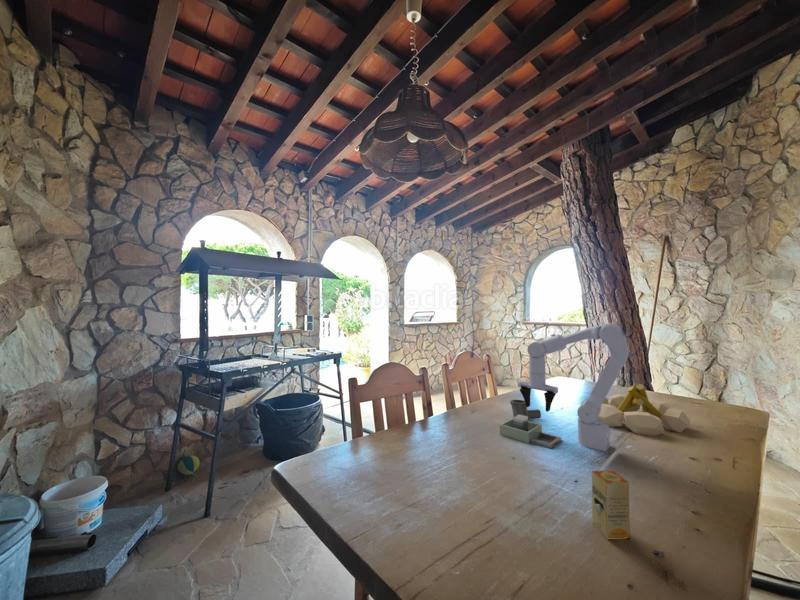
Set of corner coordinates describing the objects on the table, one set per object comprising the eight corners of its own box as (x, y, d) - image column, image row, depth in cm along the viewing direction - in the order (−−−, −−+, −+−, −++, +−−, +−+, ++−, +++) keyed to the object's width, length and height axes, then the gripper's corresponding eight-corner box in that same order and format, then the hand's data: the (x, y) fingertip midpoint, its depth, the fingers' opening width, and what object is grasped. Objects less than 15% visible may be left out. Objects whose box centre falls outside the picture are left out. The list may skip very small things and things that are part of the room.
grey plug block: (528, 434, 125) (528, 416, 125) (523, 439, 121) (522, 419, 121) (518, 432, 127) (518, 414, 127) (513, 436, 124) (513, 417, 124)
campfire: (640, 441, 120) (639, 395, 121) (569, 413, 153) (569, 376, 153) (708, 431, 130) (707, 388, 130) (628, 406, 162) (627, 371, 163)
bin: (541, 436, 124) (541, 424, 125) (528, 445, 117) (528, 432, 117) (513, 429, 132) (513, 417, 133) (499, 436, 125) (499, 424, 125)
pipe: (542, 421, 141) (542, 403, 141) (512, 421, 141) (512, 402, 141) (537, 417, 147) (536, 399, 147) (508, 416, 147) (507, 398, 148)
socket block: (563, 443, 118) (563, 437, 118) (552, 452, 111) (552, 445, 111) (535, 435, 126) (535, 430, 126) (523, 443, 119) (523, 437, 119)
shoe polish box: (613, 523, 75) (612, 470, 75) (629, 539, 70) (628, 482, 70) (592, 524, 75) (591, 471, 75) (607, 539, 70) (606, 482, 70)
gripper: (560, 374, 124) (561, 410, 124) (523, 369, 134) (524, 402, 134) (553, 377, 119) (554, 414, 119) (515, 371, 129) (516, 406, 129)
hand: (537, 408), depth 126 cm, fingers open, 7 cm apart
